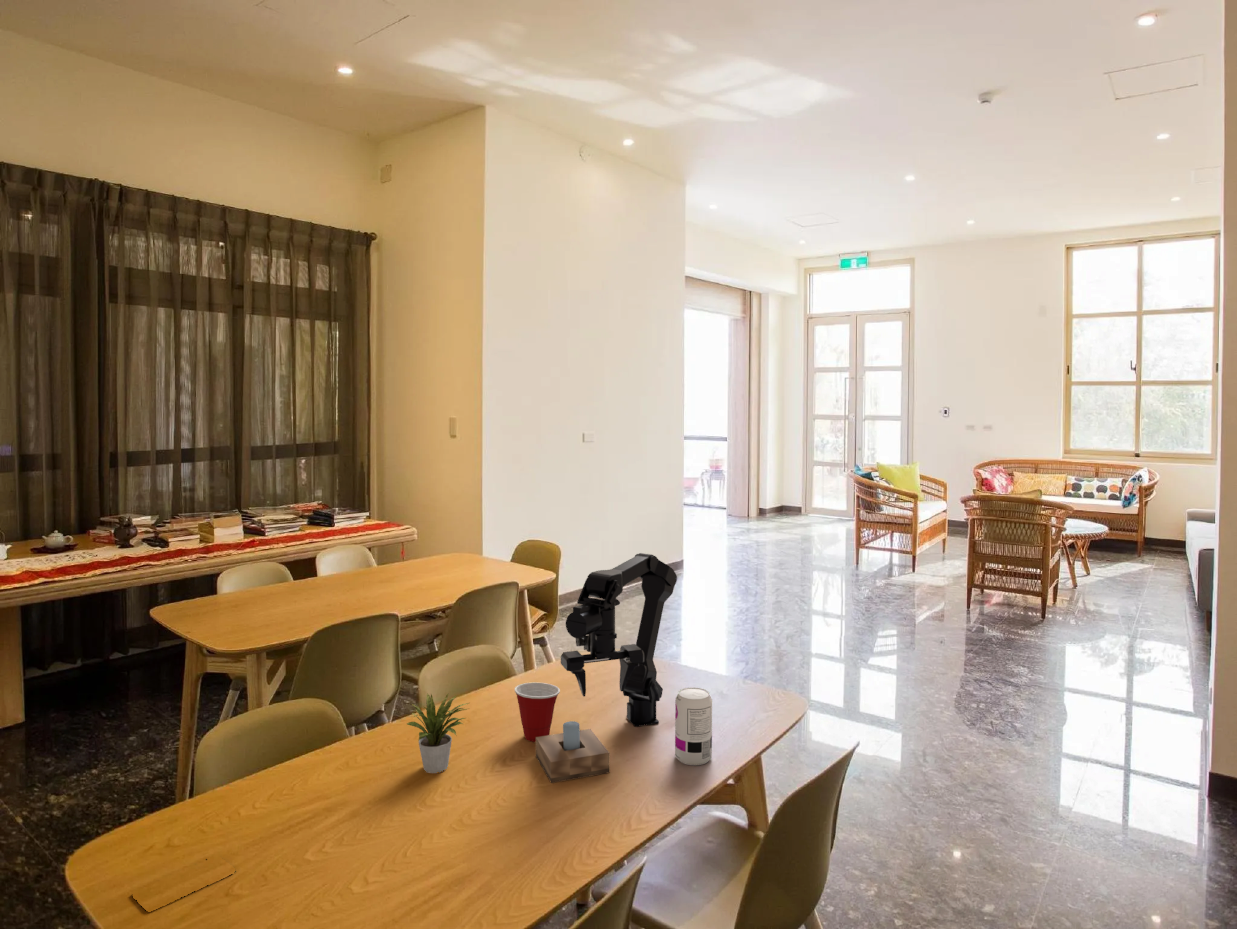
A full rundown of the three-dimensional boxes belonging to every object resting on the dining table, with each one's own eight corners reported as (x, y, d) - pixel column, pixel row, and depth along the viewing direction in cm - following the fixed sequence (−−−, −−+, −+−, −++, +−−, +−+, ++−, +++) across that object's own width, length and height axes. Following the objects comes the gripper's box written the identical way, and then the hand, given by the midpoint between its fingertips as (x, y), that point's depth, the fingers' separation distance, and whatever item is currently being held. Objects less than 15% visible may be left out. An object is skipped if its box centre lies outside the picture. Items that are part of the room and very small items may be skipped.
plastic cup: (569, 738, 185) (569, 689, 184) (530, 750, 178) (529, 699, 177) (544, 723, 193) (544, 676, 192) (506, 735, 186) (505, 686, 185)
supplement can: (669, 761, 173) (669, 696, 171) (683, 747, 180) (684, 684, 179) (703, 769, 169) (704, 702, 168) (716, 754, 176) (717, 690, 175)
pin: (582, 761, 170) (581, 726, 170) (566, 764, 169) (565, 729, 168) (577, 754, 174) (576, 720, 173) (561, 757, 172) (560, 722, 172)
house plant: (452, 789, 160) (450, 712, 159) (390, 782, 163) (388, 707, 162) (478, 758, 174) (477, 687, 173) (420, 753, 177) (419, 683, 176)
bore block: (590, 747, 180) (590, 728, 179) (609, 772, 167) (609, 752, 167) (535, 756, 175) (535, 737, 175) (551, 782, 163) (551, 762, 163)
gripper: (628, 614, 189) (627, 676, 190) (553, 621, 183) (554, 686, 184) (645, 626, 179) (645, 692, 180) (567, 635, 172) (567, 703, 174)
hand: (602, 693), depth 180 cm, fingers open, 9 cm apart
